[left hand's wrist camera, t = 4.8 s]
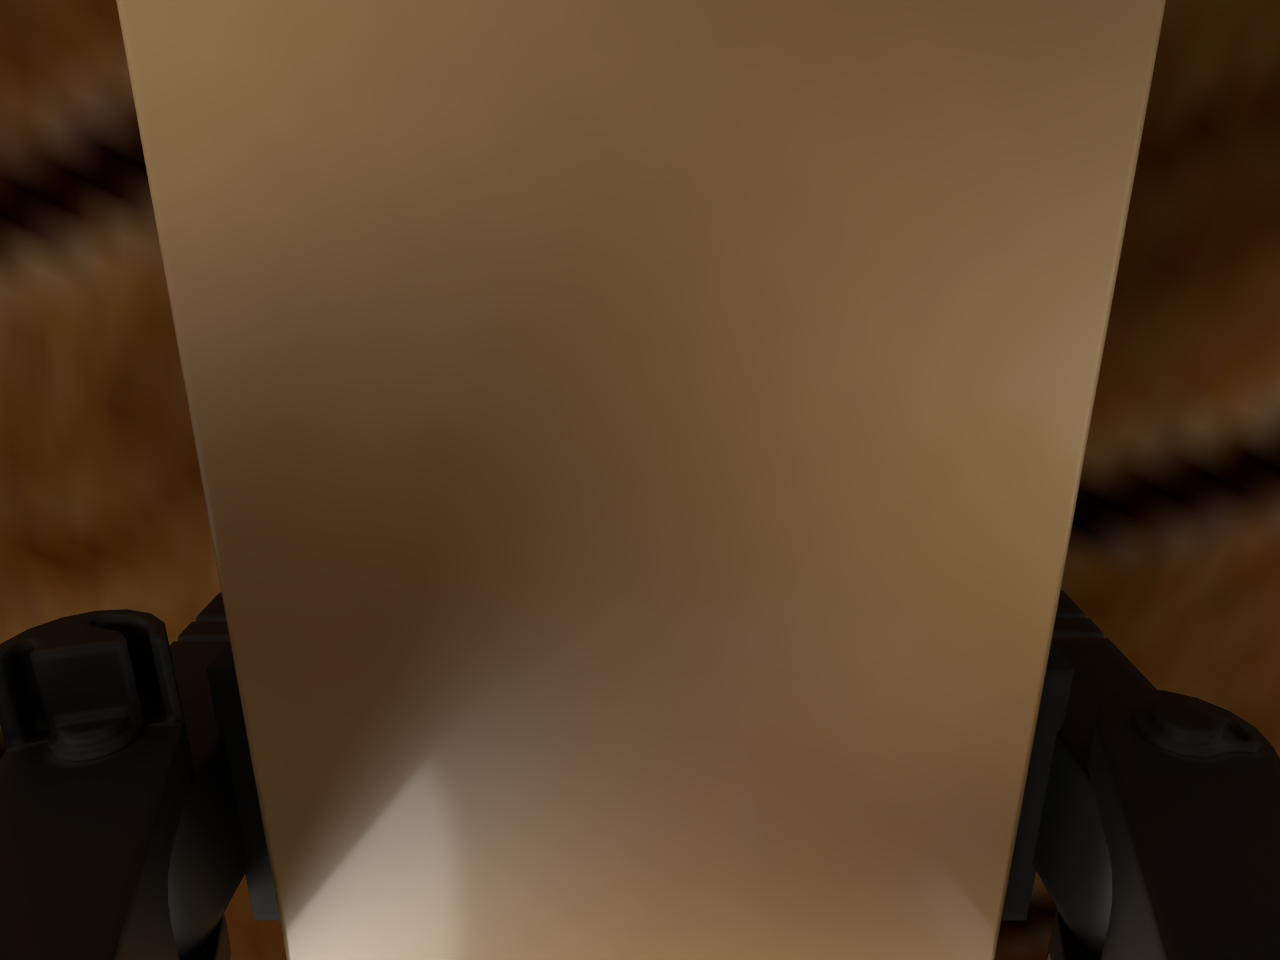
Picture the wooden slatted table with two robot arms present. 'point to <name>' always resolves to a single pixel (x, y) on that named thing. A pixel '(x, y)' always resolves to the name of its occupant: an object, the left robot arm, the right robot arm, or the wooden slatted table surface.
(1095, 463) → the wooden slatted table surface
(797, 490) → the post
